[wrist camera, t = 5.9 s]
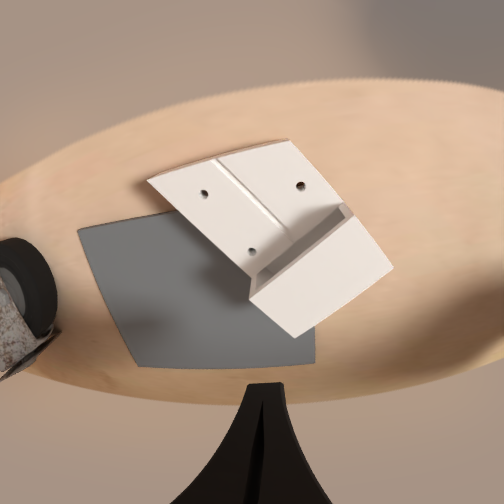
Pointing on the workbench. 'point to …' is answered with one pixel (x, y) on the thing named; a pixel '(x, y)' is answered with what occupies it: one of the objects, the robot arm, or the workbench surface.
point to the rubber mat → (184, 298)
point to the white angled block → (279, 230)
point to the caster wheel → (24, 305)
